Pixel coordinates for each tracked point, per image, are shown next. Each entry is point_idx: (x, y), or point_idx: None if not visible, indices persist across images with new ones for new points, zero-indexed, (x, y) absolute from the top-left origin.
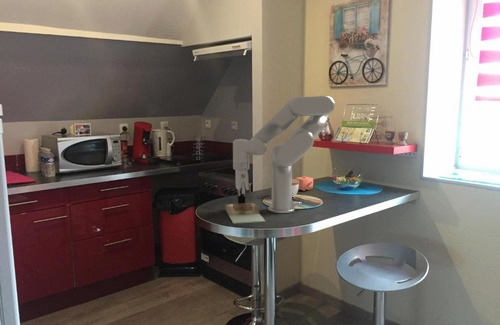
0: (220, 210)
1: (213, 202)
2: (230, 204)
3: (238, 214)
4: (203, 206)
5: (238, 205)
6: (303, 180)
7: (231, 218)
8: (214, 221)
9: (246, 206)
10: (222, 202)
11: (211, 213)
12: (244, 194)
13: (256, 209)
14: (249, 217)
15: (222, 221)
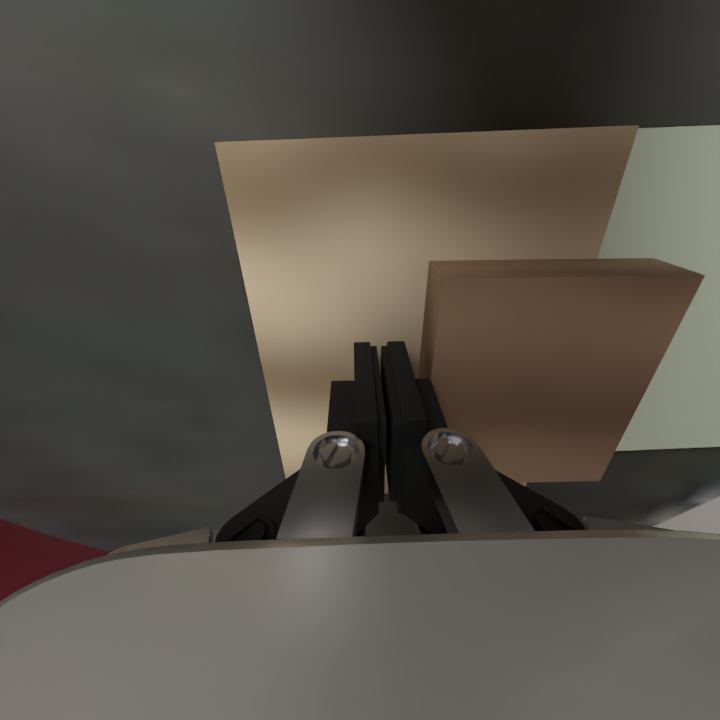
0: None
1: (41, 517)
2: (284, 461)
3: None
4: None
5: (537, 444)
6: None
7: (624, 447)
8: None
9: (643, 362)
10: (15, 462)
11: (389, 535)
12: (489, 473)
13: (616, 179)
14: (698, 298)
15: (623, 492)
